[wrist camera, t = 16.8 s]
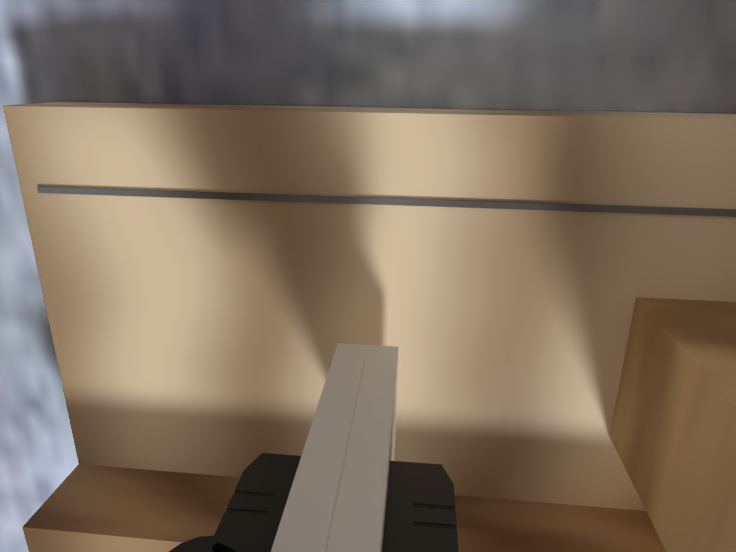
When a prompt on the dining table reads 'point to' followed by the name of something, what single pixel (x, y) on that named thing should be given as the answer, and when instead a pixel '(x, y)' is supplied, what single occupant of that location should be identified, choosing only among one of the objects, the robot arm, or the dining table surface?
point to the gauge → (681, 420)
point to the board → (360, 298)
